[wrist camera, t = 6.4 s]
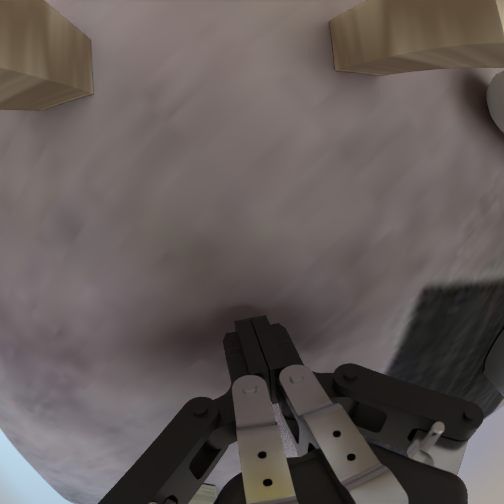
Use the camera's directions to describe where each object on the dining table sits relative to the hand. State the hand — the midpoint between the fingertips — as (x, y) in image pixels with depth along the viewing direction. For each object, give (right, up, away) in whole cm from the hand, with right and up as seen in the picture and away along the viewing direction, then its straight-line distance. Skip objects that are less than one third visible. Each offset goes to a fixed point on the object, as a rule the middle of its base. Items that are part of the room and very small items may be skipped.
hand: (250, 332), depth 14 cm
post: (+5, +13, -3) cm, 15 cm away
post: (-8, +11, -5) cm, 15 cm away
